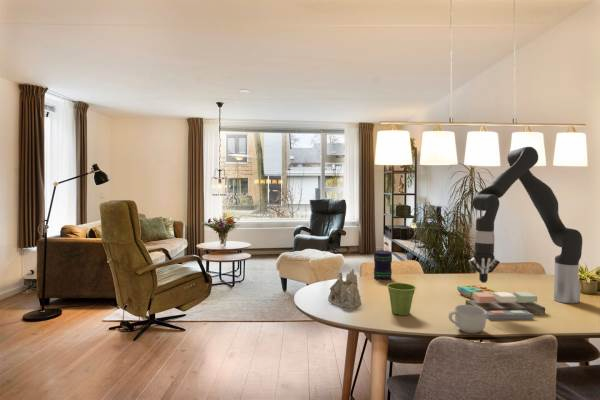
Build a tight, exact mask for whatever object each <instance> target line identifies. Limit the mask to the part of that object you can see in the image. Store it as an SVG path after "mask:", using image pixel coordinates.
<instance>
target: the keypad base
mask: <svg viewBox="0 0 600 400" xmlns="http://www.w3.org/2000/svg"><path fill="white" fill-rule="evenodd" d="M464 305H471V306H476V307H480V308H482V309H484V310H485V311H512V310H526V311H528V312H530V313H532V314H533V315H545V314H546V307H544V306H542V305H540V304H538V303H537V302H521V301H519V300H517V299H516V302H499V301H498V300H495V302H478V301H476V300H473V299H470V300H469V299H466V300H465V304H464Z"/></svg>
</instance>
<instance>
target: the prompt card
mask: <svg viewBox="0 0 600 400" xmlns="http://www.w3.org/2000/svg"><path fill="white" fill-rule="evenodd" d="M486 312H487V314H486V320H488V321H491V320H492V321H493V320H499V321H500V320H534V314H532V313H530V312H528V311H526V310H512V311H486Z"/></svg>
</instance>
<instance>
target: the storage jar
mask: <svg viewBox="0 0 600 400" xmlns="http://www.w3.org/2000/svg"><path fill="white" fill-rule="evenodd" d="M373 253H374V254H373V261H374V268H373V278H374V279H375V280H378V281H391V280H392V274H393V273H392V260H393V257H392V254H393V253H392V251H391V250H375V251H373Z"/></svg>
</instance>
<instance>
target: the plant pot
mask: <svg viewBox="0 0 600 400" xmlns="http://www.w3.org/2000/svg"><path fill="white" fill-rule="evenodd" d="M386 287H387V289H388V294H389V302H390V308H391V313H392V314H394V315H399V316H407V315H409V314H410V313H411V308H412V303H413V298H414V294H415V291H416V290H417V287H416V286H415V285H414V284H411V283H410V284H409V283H406V282H391V283H388V284H386Z"/></svg>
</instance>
